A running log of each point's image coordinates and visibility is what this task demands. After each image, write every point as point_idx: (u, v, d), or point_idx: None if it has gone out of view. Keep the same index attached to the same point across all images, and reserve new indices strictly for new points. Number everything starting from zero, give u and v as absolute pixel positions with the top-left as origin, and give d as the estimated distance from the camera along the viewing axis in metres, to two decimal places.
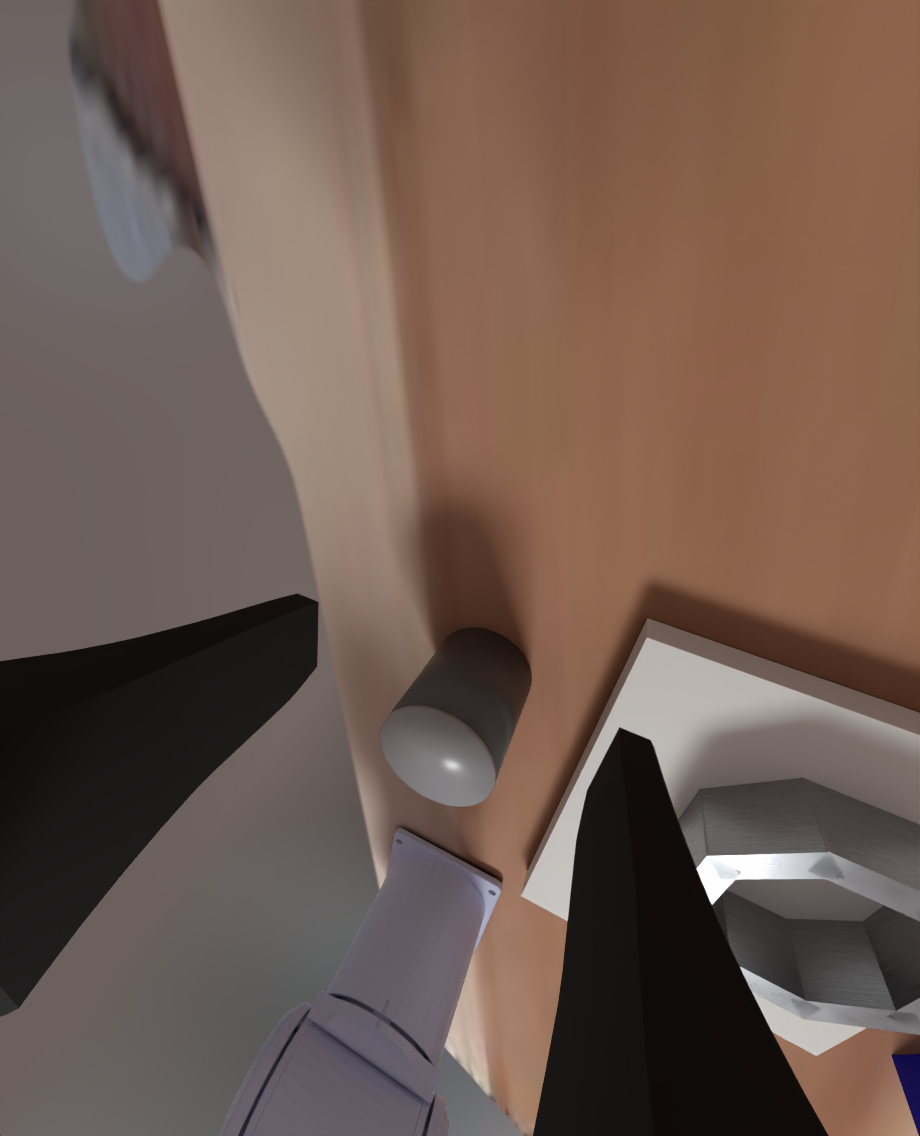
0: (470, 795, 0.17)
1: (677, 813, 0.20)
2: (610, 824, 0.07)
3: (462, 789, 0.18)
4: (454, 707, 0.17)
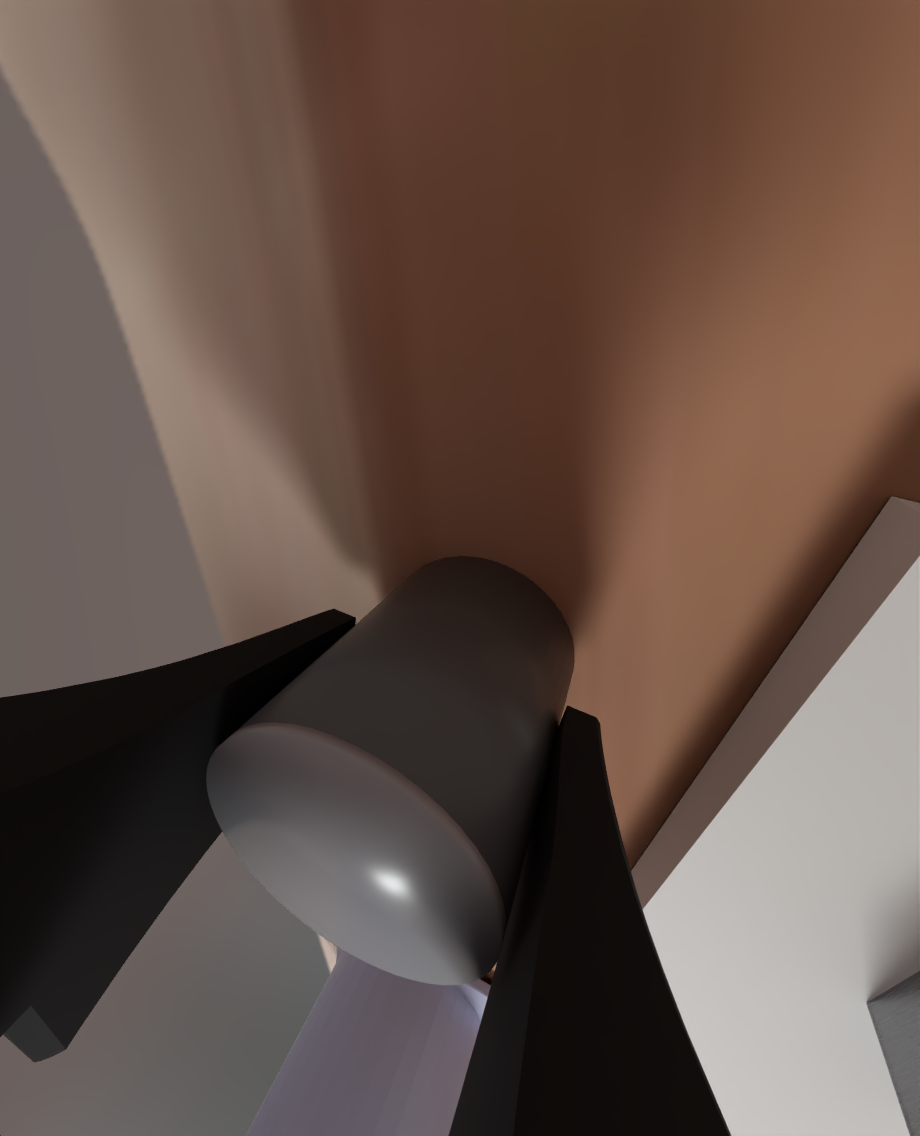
0: (436, 963, 0.07)
1: (916, 963, 0.09)
2: (548, 794, 0.07)
3: (414, 947, 0.07)
4: (383, 730, 0.06)
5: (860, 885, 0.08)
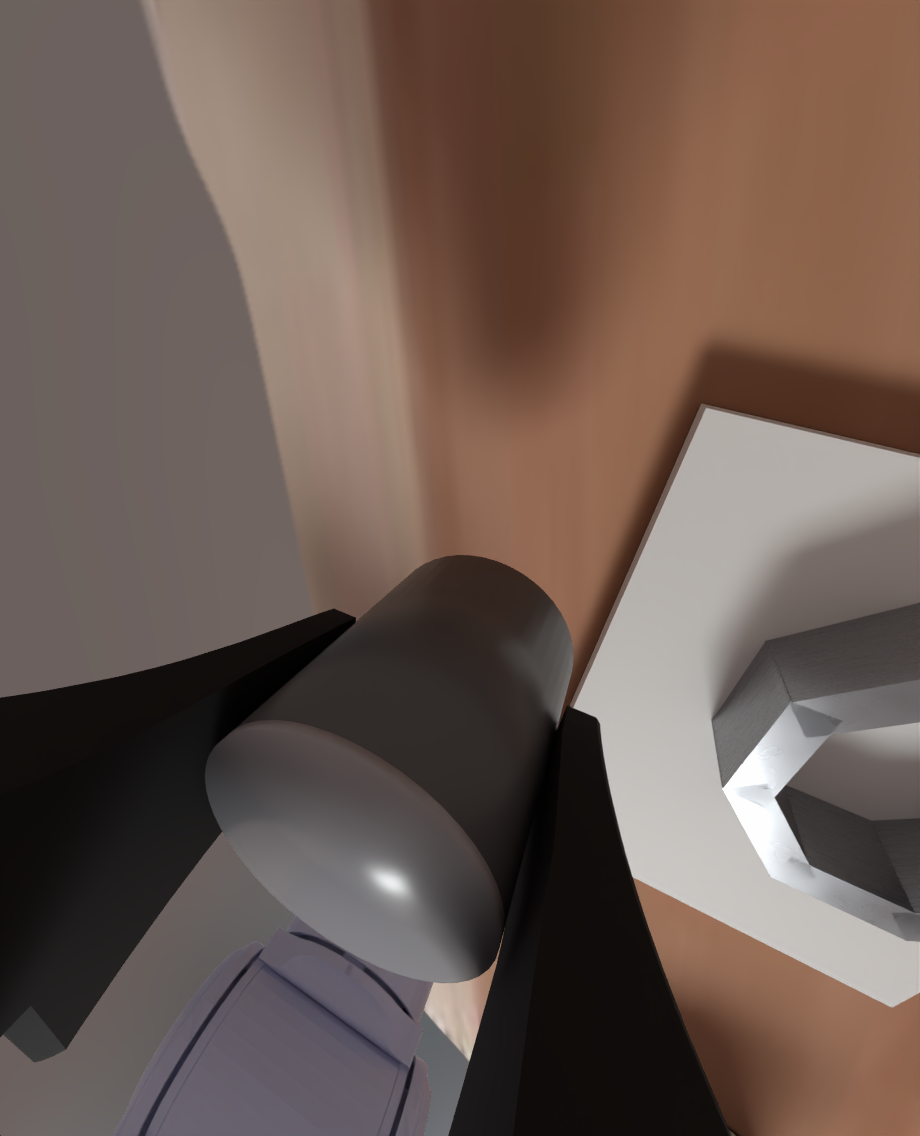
0: (434, 961, 0.07)
1: (731, 682, 0.15)
2: (548, 794, 0.07)
3: (413, 945, 0.07)
4: (382, 726, 0.06)
5: (697, 634, 0.15)
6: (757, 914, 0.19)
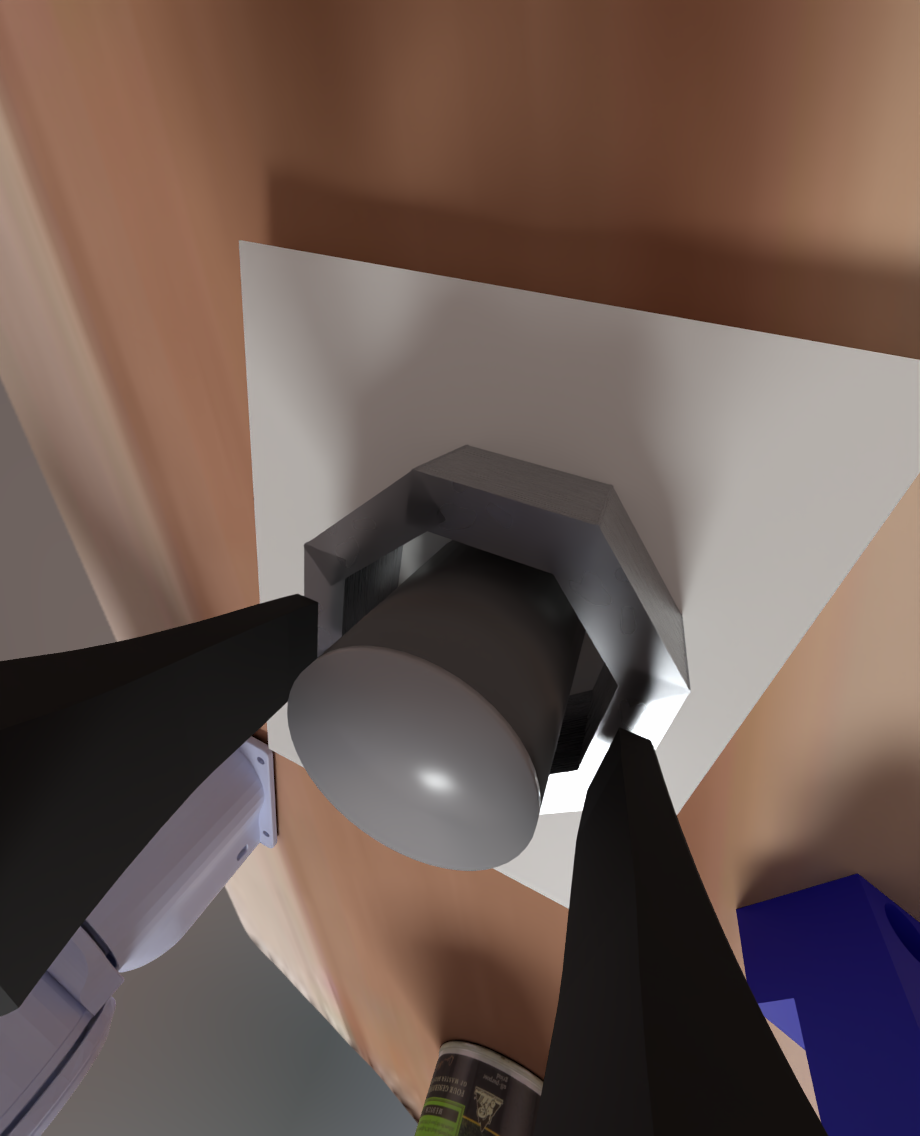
0: (479, 849, 0.08)
1: None
2: (610, 823, 0.07)
3: (462, 836, 0.08)
4: (443, 649, 0.07)
5: (320, 510, 0.14)
6: None
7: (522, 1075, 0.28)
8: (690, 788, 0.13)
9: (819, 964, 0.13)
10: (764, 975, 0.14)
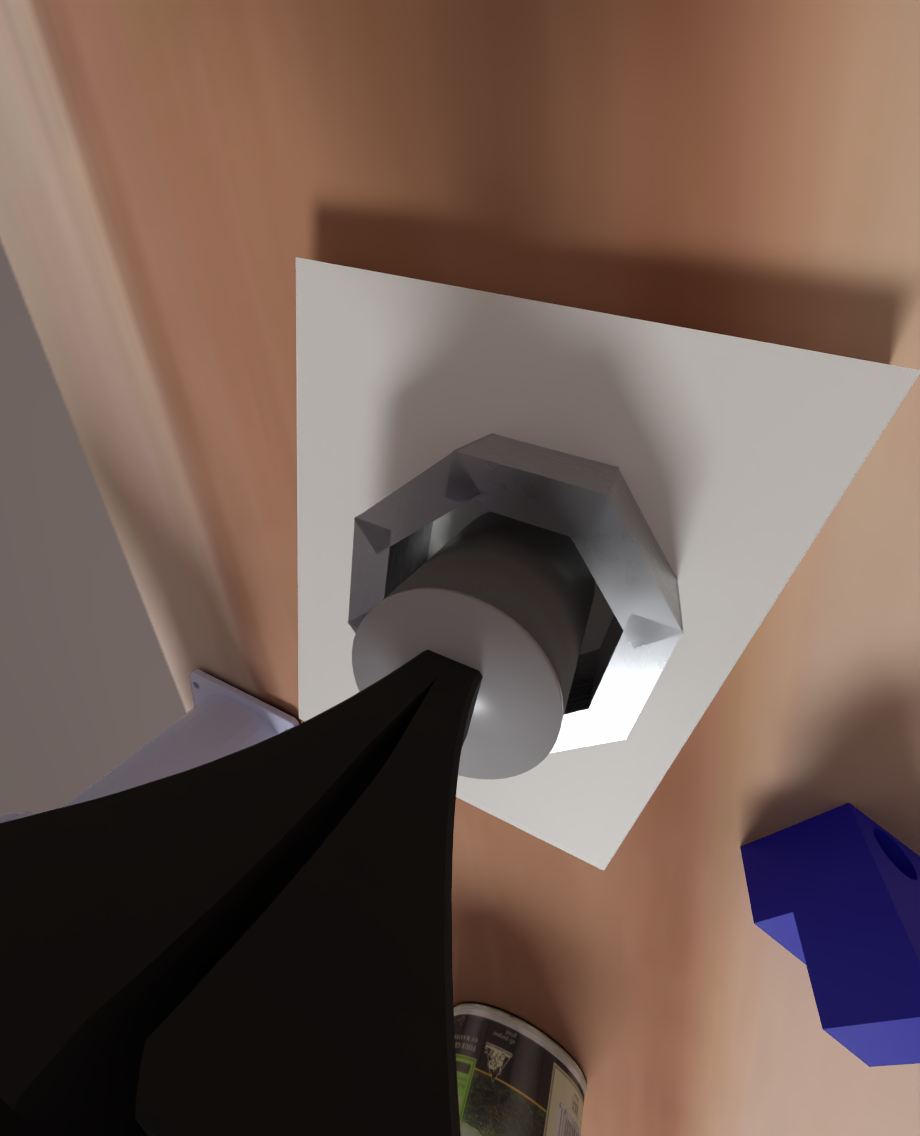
0: (512, 757, 0.10)
1: None
2: None
3: (497, 747, 0.10)
4: (485, 590, 0.09)
5: (358, 493, 0.16)
6: (484, 787, 0.20)
7: (530, 1031, 0.29)
8: (685, 735, 0.15)
9: (814, 881, 0.14)
10: (766, 897, 0.15)
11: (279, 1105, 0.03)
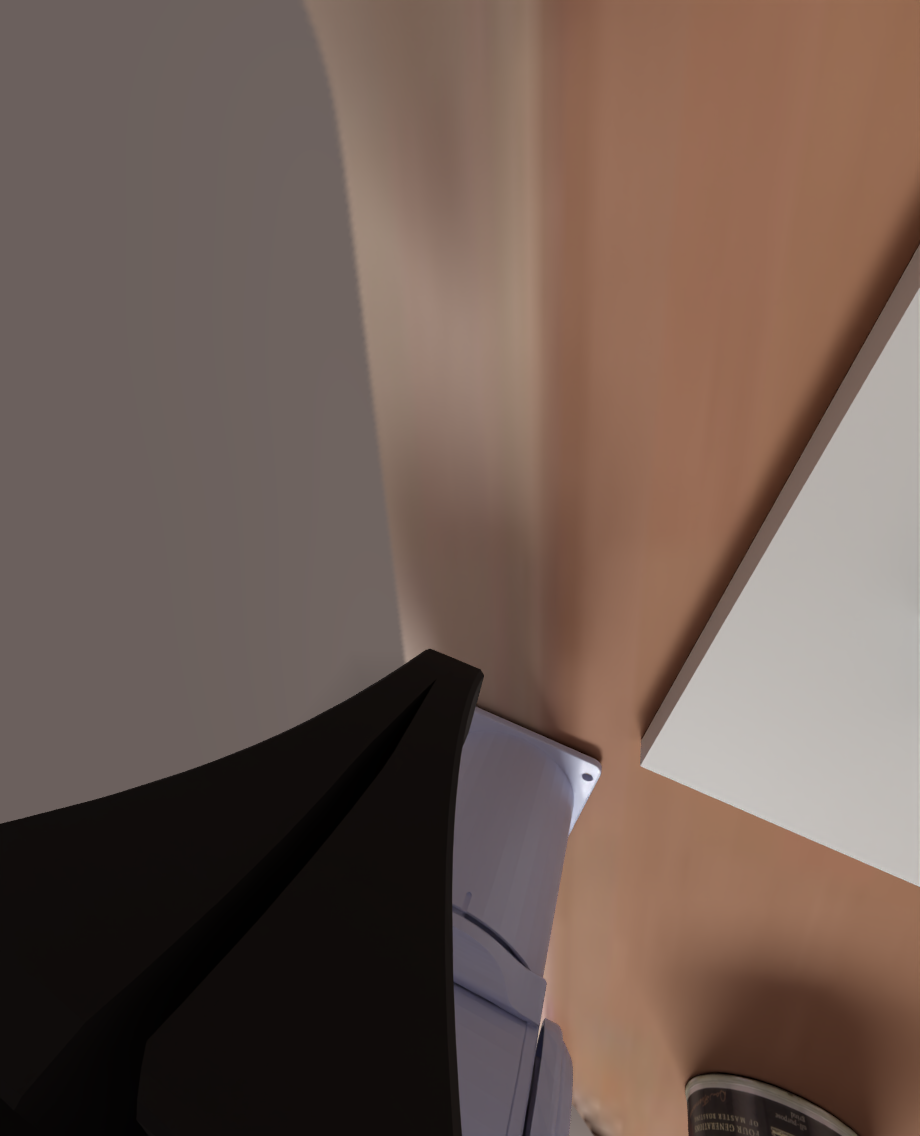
0: None
1: None
2: None
3: None
4: None
5: None
6: None
7: (818, 1113, 0.26)
8: None
9: None
10: None
11: (280, 1107, 0.03)
